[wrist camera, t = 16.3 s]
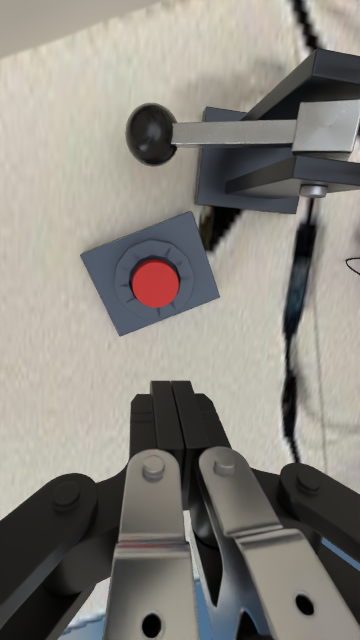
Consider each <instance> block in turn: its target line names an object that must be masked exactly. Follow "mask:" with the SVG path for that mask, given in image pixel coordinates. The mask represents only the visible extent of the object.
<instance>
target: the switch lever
mask: <svg viewBox="0 0 360 640" xmlns="http://www.w3.org/2000/svg"><path fill="white" fill-rule="evenodd" d="M359 124H360V98H359V99H339V100H320V101H302V102H301V103H300V106H299V112H298V117H297V119H289V120H257V121H225V122H193V123H177V121H176V119H175V117H174V116H173V114H172V113H171V112H170V111H169V110H168V109H167V108H166V107H164V106H162V105H160V104H157V103H145V104H142V105H140V106H139V107H137V108H136V109H135V110H134V111H133V112H132V113H131V115H130V117H129V118H128V121H127V124H126V131H125V136H126V142H127V145H128V148H129V150H130V152H131V153H132V155H133V156H134V157H135V158H136V159H137V160H138V161H139V162H141V163H142V164H144V165H147V166H152V167H154V166H161V165H163V164H165V163H167V162H168V161H170V160H171V159H172V157H173V156H174V155H175V153H176V151H177V148H292V150H291V151H292V156H296V155H302V156H310V157H317V158H325V159H333V160H340V161H347V160H348V159H349V157H350V155H351V153H352V151H353V148H354V144H355V140H356V136H357V132H358V128H359Z"/></svg>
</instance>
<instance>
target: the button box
mask: <svg viewBox="0 0 360 640" xmlns="http://www.w3.org/2000/svg"><path fill="white" fill-rule="evenodd" d="M80 256H81V258H82V260H83V262H84V264H85V266H86V268H87V270H88V272H89V274H90V276H91V279H92V281H93V283H94V285H95V287H96V289H97V291H98V293H99V295H100V297H101V299H102V301H103V303H104V305H105V307H106V309H107V311H108V313H109V315H110V317H111V320H112V322H113V324H114V326H115V328H116V330H117V332H118V334H119V336H123V335H125V334H128V333H130V332H133V331H135V330H138V329H141V328H143V327H146V326H148V325H151V324H153V323H156V322H158V321H161V320H164V319H166V318H169V317H171V316H174V315H176V314H179V313H181V312H184V311H186V310H189V309H192V308H194V307H197V306H199V305H202V304H204V303H207V302H209V301H212V300H214V299H217V298H219V297H220V296H219V292H218V289H217V286H216V283H215V280H214V277H213V274H212V271H211V268H210V265H209V262H208V259H207V256H206V253H205V249H204V246H203V243H202V240H201V237H200V234H199V231H198V228H197V225H196V222H195V219H194V216H193V213H192V211H189V212H186V213H183V214H181V215H178V216H176V217H173V218H170V219H168V220H165V221H163V222H160V223H158V224H155V225H153V226H150V227H147V228H145V229H142V230H140V231H137V232H135V233H132V234H130V235H127V236H125V237H122V238H119V239H117V240H114V241H112V242H109V243H107V244H104V245H102V246H99V247H96V248H94V249H91V250H89V251H86V252H84V253H82V254H81V255H80ZM150 259H159V260H162V261H165V262H166V263H168V264H169V265H170V266H171V267H172V268H173V270H174V271H175V273H176V275H177V277H178V281H179V289H178V292H177V295H176V296H175V298H174V299H173V300H172V301H171V302H170V303H169V304H167V305H165V306H162V307H149V306H146V305H144V304H143V303H141V302H140V301H139V300H138V299H137V297H136V296H135V294H134V291H133V276H134V272H135V270H136V269H137V267H138V266H139V265H140V264H141V263H143V262H145V261H147V260H150Z"/></svg>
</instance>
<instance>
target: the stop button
mask: <svg viewBox="0 0 360 640" xmlns="http://www.w3.org/2000/svg"><path fill="white" fill-rule="evenodd" d="M178 289H179V281H178V277H177V275H176V273H175V271H174V270H173V268H172V267H171V266H170V265H169V264H168V263H166V262H165V261H162V260H159V259H150V260H147V261H145V262H143V263H141V264H140V265H139V266H138V267H137V269H136V270H135V272H134V276H133V291H134V294H135V296H136V297H137V299H138V300H139V301H140V302H141V303H143V304H144V305H146V306H149V307H162V306H165V305H167V304H169V303H170V302H171V301H172V300H173V299H174V298H175V296H176V295H177V292H178Z"/></svg>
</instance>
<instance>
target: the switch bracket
mask: <svg viewBox="0 0 360 640" xmlns="http://www.w3.org/2000/svg"><path fill="white" fill-rule="evenodd" d="M359 98H360V56H356V55H351V54H346V53H340V52H335V51H330V50H325V49H320V48H317V49H316V50H315V51H314V52H313V53H311V54H310V55H309V56H308V57H307V58H306V59H305V60H304V61H303V62H302V63H301V64H300V65H299V66H298V67H296V68H295V69H294V70H293V71H292V72H291V73H290V74H289V75H288V76H287V77H286V78H285V79H284V80H282V81H281V82H280V83H279V84H278V85H277V86H276V87H275V88H274V89H273V90H272V91H271V92H270V93H269V94H267V95H266V96H265V97H264V98H263V99H262V100H261V101H260V102H259V103H258V104H257V105H256V106H255V107H254V108H252V109H251V110H250V111H249V112H248V113H246V112H239V111H232V110H226V109H219V108H212V107H206V108H205V110H204V112H203V120H202V122H225V121H257V120H289V119H297V117H298V112H299V106H300V103H301V102H302V101H320V100H339V99H359ZM291 150H292V148H200V152H199V163H198V173H197V184H196V195H195V205H202V206H212V207H222V208H232V209H243V210H253V211H263V212H273V213H283V214H296V211H297V206H298V201H299V196H301V197H310V198H323V197H325V196H326V193H333V192H341V191H350V190H359V189H360V163H355V162H348V161H340V160H333V159H325V158H317V157H310V156H302V155H296V156H292V151H291Z"/></svg>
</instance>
